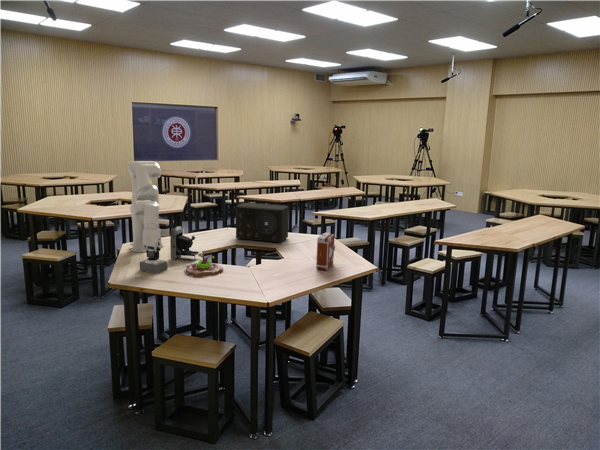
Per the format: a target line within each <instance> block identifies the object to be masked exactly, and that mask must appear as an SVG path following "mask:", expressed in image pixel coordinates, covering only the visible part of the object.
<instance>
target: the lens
mask: <svg viewBox="0 0 600 450" xmlns="http://www.w3.org/2000/svg"><path fill="white" fill-rule="evenodd" d="M156 248H157V247H156ZM154 252H155V249H154V247H148V257H147V258H148V260H150V261H153V260H158V258H157V259H155V258H154Z"/></svg>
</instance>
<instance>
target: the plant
mask: <svg viewBox="0 0 600 450" xmlns="http://www.w3.org/2000/svg"><path fill="white" fill-rule="evenodd" d="M197 256H198V257H200V258H202V259H199V260H197V261H195V262H194V263H191V264H189V265H187V266H186V267H185V273H186V274H187V275H188V276H192V277H195V278H200V277H201V278H202V277H209V276H216V275H219V274H222V273H224V267H223V266H221V265H219V264H218V263H213V262H211V261H212V260H211V259H209V258H210V257H211V258H212V259H215V256H214V255H212V254H210V255H207V257H205V255H204V253H203V252H200V253H198V254H197Z"/></svg>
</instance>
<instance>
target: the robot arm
mask: <svg viewBox="0 0 600 450" xmlns="http://www.w3.org/2000/svg"><path fill="white" fill-rule="evenodd" d="M126 167H127V171H128V174H129V176H130V178H131V179H130V180H131V193H132V194H131V204H130V207H129V210H130V215H131V221H132V223H131V224H132V225H131V226H132V241H131V243H129V245H130V246H131V248H130V249H131V252H134V253H144V252H145V253H146V258H148V247H154V249H155V252H154V258H155V259H157V258H159V257H160V251H161V250H162V249H163V248H164V245H163V243H162V235H161V233H162V232H161V229H160V222H159V221H160V220H159V219H160V217H159V212H160V199H159V198H160V195H159V193H160V192H159V189H158V187H157V186H156V185H154V184H153V179H159V178H160V177H161V175H162V169H161V166H160V165H159V163H158V162H157V161H154V160H133V161H129V162H128V163H127V165H126ZM156 247H157V248H156Z"/></svg>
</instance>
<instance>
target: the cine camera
mask: <svg viewBox="0 0 600 450" xmlns="http://www.w3.org/2000/svg"><path fill="white" fill-rule="evenodd" d="M335 251H336V245H335V234H334V233H331V232H324V233H322V234H321V235H319V236H317V241H316V258H315V259H316V263H315V264H316V265H315V267H316V270H320V271H328V270H330V268H332V266H333V265H334V258H335V257H334V256H335V255H334V254H335Z"/></svg>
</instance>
